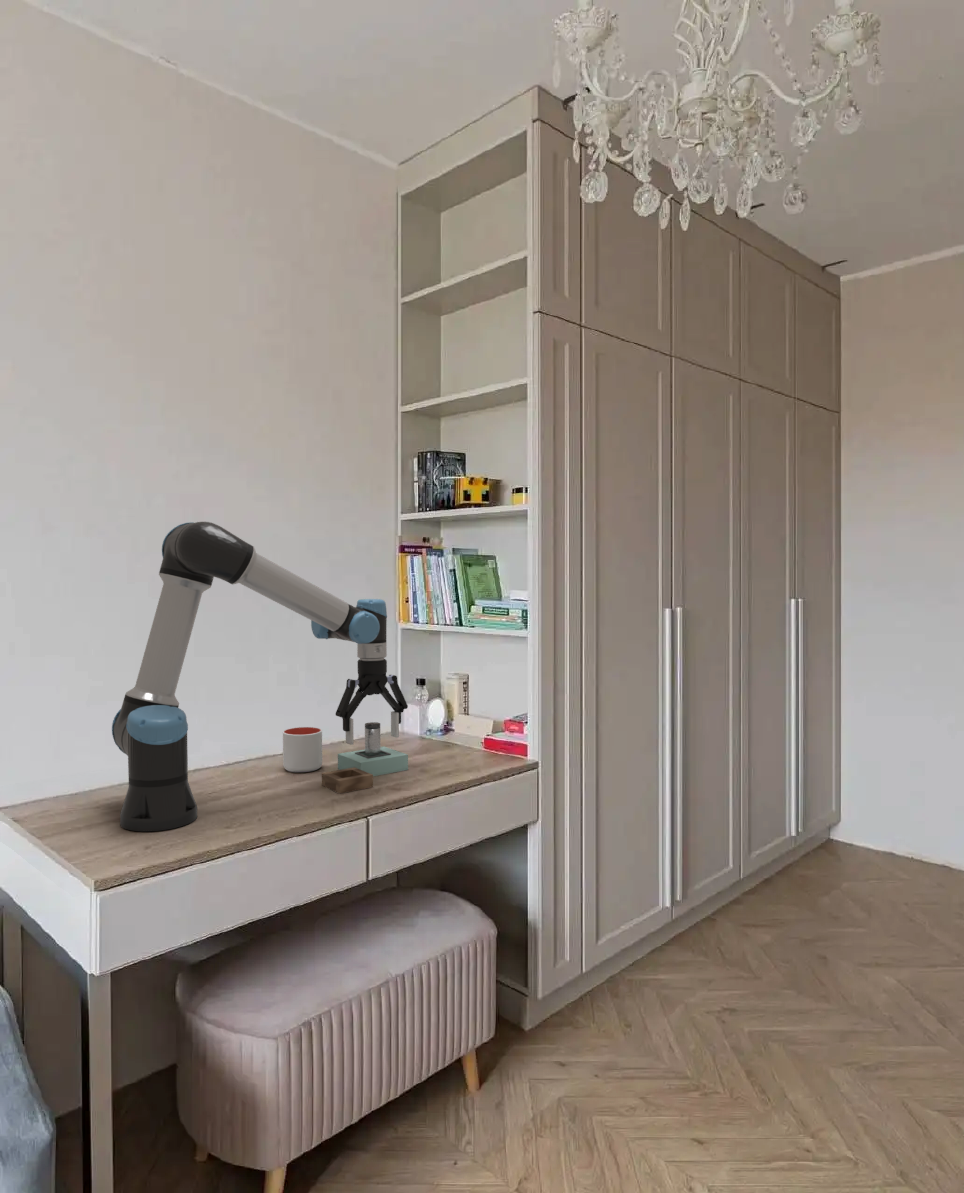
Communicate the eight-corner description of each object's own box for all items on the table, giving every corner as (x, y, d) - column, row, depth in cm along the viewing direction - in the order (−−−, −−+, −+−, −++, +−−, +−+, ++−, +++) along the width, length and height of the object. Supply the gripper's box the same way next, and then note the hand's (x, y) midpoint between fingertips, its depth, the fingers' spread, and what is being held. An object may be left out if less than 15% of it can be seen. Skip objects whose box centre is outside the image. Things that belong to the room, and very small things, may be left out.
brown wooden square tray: (339, 793, 197) (339, 780, 196) (321, 785, 204) (321, 773, 204) (373, 787, 202) (372, 774, 202) (354, 779, 209) (354, 767, 209)
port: (360, 778, 210) (360, 761, 209) (337, 768, 219) (337, 752, 219) (408, 769, 218) (408, 753, 218) (384, 760, 228) (383, 745, 228)
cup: (327, 764, 224) (326, 727, 224) (315, 774, 214) (315, 735, 214) (290, 763, 225) (290, 726, 225) (277, 773, 215) (277, 734, 215)
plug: (370, 772, 216) (369, 726, 215) (362, 769, 219) (361, 723, 218) (383, 769, 218) (383, 724, 218) (375, 766, 222) (375, 721, 221)
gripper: (335, 664, 207) (336, 749, 208) (420, 656, 222) (420, 736, 223) (321, 661, 213) (322, 744, 214) (405, 653, 228) (405, 731, 229)
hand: (372, 740), depth 218 cm, fingers open, 13 cm apart
